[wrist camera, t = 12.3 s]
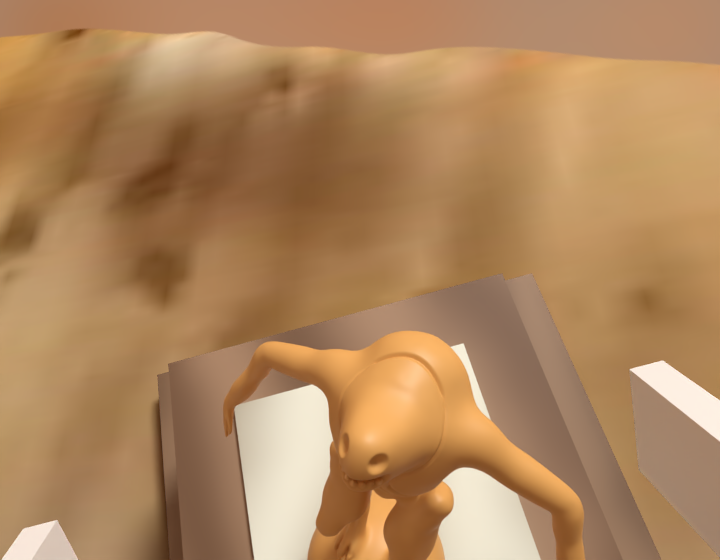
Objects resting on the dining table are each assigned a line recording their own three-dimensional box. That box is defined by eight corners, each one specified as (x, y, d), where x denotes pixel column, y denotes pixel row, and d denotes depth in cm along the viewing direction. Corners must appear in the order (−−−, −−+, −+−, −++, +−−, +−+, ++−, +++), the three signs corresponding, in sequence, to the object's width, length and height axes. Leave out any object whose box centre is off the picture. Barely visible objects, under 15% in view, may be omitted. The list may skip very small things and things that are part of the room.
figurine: (244, 554, 18) (-44, 556, 7) (333, 394, 20) (214, 211, 9) (479, 710, 15) (589, 1098, 4) (551, 507, 17) (744, 432, 6)
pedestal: (525, 288, 32) (567, 186, 22) (728, 749, 22) (952, 904, 12) (172, 384, 31) (68, 320, 22) (213, 895, 21) (55, 1162, 12)
